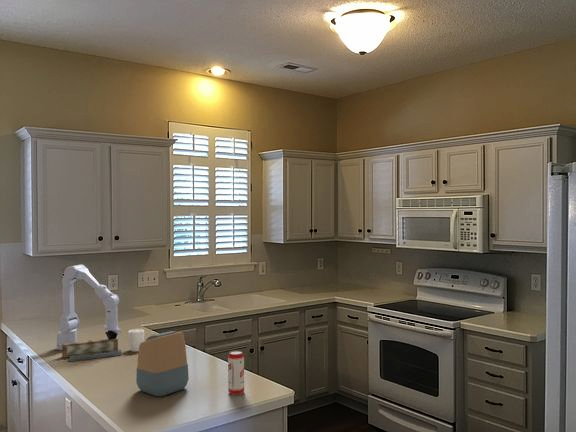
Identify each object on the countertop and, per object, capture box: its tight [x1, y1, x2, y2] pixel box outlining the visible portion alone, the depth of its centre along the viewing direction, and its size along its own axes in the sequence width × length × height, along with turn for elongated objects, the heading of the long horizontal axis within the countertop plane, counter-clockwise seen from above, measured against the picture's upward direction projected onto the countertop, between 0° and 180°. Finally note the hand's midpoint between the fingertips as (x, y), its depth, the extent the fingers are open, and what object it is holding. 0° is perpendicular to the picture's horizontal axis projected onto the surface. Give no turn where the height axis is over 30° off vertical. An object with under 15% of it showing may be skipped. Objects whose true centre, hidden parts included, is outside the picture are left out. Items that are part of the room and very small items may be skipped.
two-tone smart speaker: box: [135, 330, 189, 398], centre depth 210 cm, size 17×17×23 cm
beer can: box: [227, 350, 245, 396], centre depth 206 cm, size 6×6×16 cm
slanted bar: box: [68, 349, 123, 362], centre depth 257 cm, size 24×3×2 cm, turn 114°
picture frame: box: [61, 337, 119, 358], centre depth 263 cm, size 26×3×6 cm, turn 113°
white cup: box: [127, 328, 145, 352], centre depth 270 cm, size 8×8×10 cm
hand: (112, 345), depth 269 cm, fingers closed
